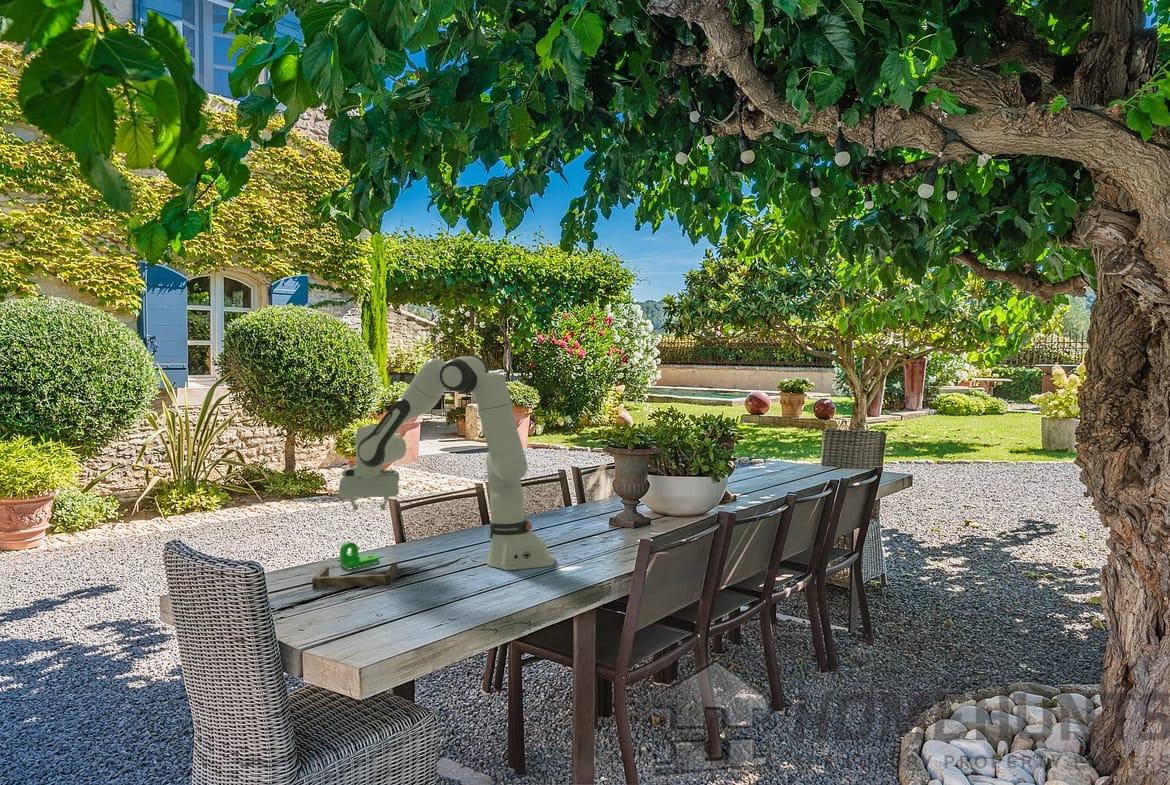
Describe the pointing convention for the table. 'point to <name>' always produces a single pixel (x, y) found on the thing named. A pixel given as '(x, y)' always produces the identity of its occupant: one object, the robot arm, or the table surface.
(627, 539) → the table surface
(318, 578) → the walnut bay
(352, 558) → the mechanical part
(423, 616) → the table surface
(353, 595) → the table surface
